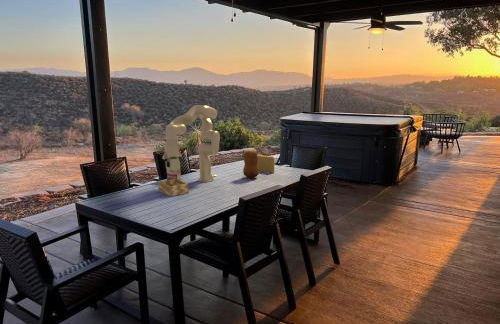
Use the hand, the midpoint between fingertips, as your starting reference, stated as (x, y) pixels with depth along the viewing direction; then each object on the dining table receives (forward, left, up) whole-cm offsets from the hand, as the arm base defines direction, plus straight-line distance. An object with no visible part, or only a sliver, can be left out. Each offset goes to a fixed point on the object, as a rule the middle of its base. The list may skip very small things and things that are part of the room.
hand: (172, 166), depth 258 cm
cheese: (-101, -14, -20) cm, 103 cm away
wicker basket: (0, 0, -19) cm, 19 cm away
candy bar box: (-15, -30, -20) cm, 39 cm away
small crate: (0, 0, -2) cm, 2 cm away
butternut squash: (-73, 0, -20) cm, 76 cm away
